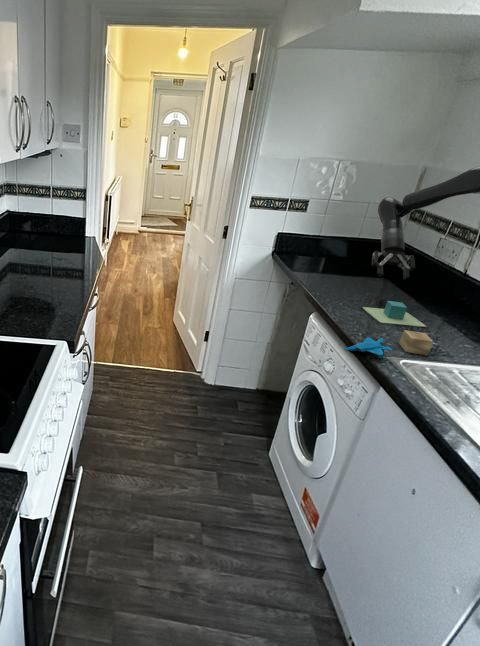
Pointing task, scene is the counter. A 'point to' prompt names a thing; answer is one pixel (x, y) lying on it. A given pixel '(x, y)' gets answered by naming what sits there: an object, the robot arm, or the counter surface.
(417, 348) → the base block
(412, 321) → the mat
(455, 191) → the robot arm
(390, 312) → the top cube
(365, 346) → the toy airplane
